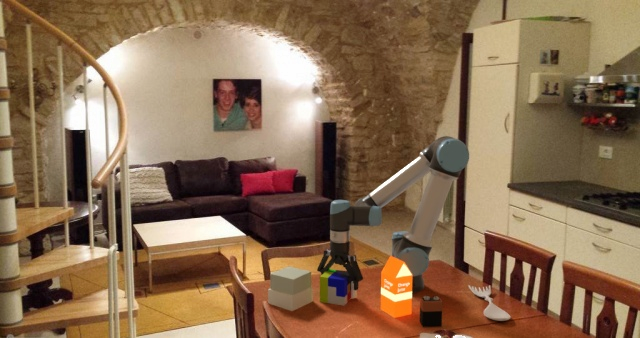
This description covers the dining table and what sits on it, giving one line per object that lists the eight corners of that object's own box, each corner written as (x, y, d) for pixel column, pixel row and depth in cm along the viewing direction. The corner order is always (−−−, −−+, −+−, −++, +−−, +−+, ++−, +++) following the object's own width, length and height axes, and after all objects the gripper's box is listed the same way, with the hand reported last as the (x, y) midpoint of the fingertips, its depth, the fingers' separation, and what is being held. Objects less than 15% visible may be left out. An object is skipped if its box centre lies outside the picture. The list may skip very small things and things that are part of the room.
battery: (419, 322, 189) (419, 294, 188) (438, 321, 190) (439, 294, 188) (422, 327, 185) (423, 299, 183) (442, 327, 185) (442, 298, 184)
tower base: (312, 302, 208) (312, 287, 207) (292, 312, 199) (292, 296, 198) (288, 295, 215) (288, 280, 214) (268, 304, 206) (268, 289, 205)
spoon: (489, 292, 218) (490, 284, 218) (514, 326, 187) (514, 316, 186) (467, 291, 219) (467, 283, 218) (487, 325, 187) (488, 315, 187)
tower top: (311, 286, 208) (311, 271, 207) (293, 295, 199) (293, 279, 198) (288, 280, 214) (288, 266, 213) (270, 289, 205) (270, 273, 204)
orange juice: (394, 318, 193) (395, 263, 190) (380, 309, 200) (381, 256, 198) (412, 314, 196) (413, 260, 193) (397, 305, 204) (398, 253, 201)
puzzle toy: (344, 305, 204) (344, 280, 202) (319, 301, 208) (319, 276, 206) (352, 296, 213) (353, 272, 212) (328, 293, 217) (328, 268, 215)
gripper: (308, 237, 213) (308, 289, 216) (361, 248, 198) (360, 304, 201) (320, 233, 219) (320, 284, 222) (372, 243, 203) (371, 298, 206)
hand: (339, 293), depth 211 cm, fingers open, 13 cm apart
